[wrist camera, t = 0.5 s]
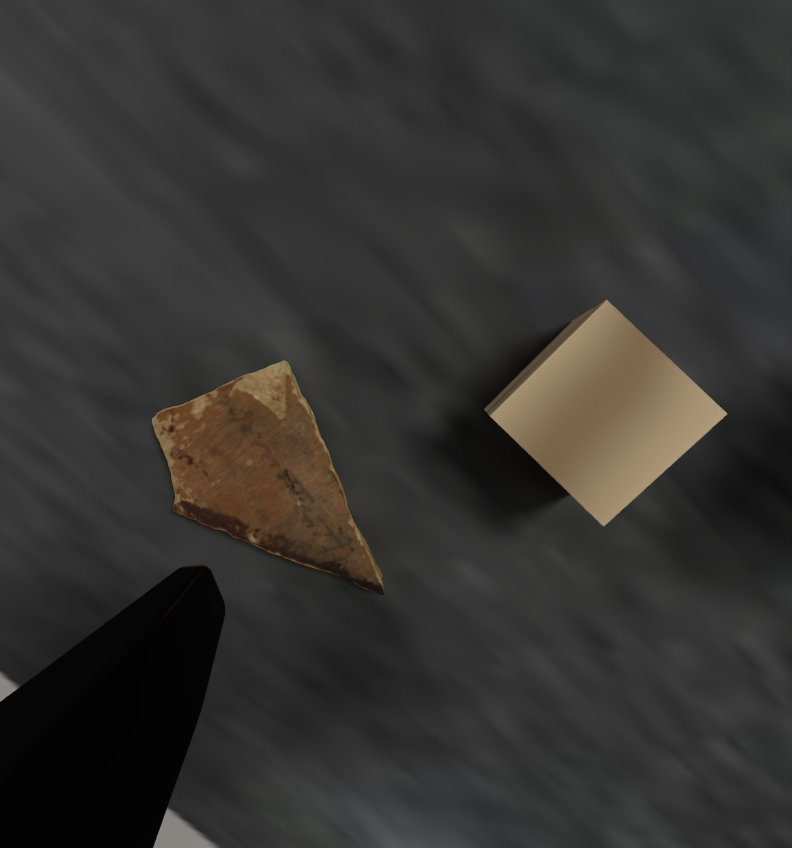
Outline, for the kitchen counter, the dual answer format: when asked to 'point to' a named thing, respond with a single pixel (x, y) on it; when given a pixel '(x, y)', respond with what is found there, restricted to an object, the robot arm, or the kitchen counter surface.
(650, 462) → the honey oak cube
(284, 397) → the shard
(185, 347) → the kitchen counter surface
